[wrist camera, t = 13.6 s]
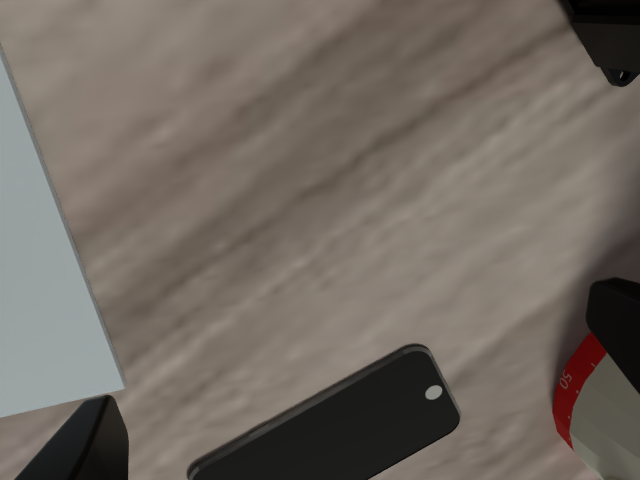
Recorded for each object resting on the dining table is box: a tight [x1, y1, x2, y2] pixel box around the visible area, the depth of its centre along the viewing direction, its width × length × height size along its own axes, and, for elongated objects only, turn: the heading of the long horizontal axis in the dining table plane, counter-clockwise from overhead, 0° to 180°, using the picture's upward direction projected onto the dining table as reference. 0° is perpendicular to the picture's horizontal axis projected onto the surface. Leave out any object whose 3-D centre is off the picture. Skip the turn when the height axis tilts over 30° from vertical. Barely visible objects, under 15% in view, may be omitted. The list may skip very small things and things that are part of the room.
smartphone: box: [189, 345, 461, 480], centre depth 28 cm, size 8×1×15 cm
